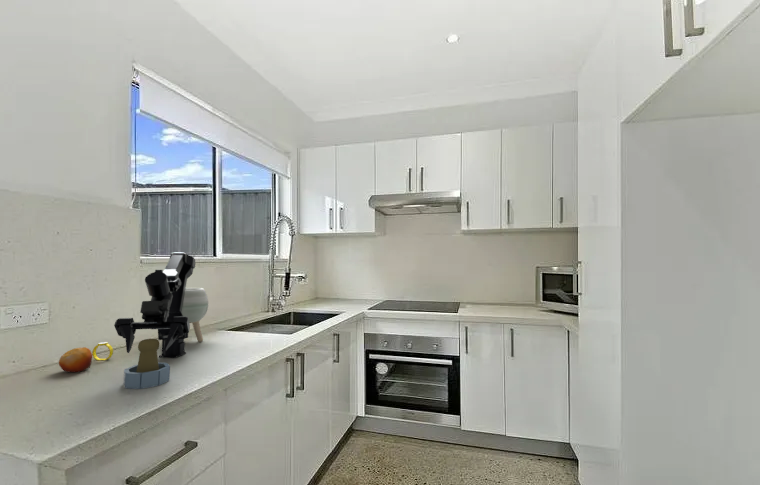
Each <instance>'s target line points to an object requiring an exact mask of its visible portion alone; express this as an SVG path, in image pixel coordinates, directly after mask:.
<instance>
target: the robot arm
mask: <svg viewBox="0 0 760 485" xmlns="http://www.w3.org/2000/svg"><path fill="white" fill-rule="evenodd" d="M194 269H196V259H195V257H194V256H191V255H189V254H188V253H187V252H186V253H185V252H183V251H182V252H181V251H179V252H176V251H174V252H170V256H169V260H168V262H167V263H166V266H165V267H164V269H155V270H154V272H151V273H149V274H148V275H146V276H144V277H145V279H144V282H145V285H146V286H145V287H146V288H147V291H148V295H149V296H150V297H151V298H150V300H143V301H142V302H141V305H140V306H141V307H140V310H139V311H140V312H139V313H141V314H142V315H141V319H142V320H143V321H135V319H134V317H119V318H117V319H115V323H114V324H113V326H114V328H115V331H116V334H117V336H119V337H122V339H125V347H126V350H125V351H126V353H127V354H130V352H131V350H132V348H133V344H134V340H135V338H136V337H135V336H136V335H135V334H136V331H137V330H157V336H158V339H157V340H158V341H161V354H160V355H158V358H170V359H172V358H173V359H175V358H178V357H180V356H183V355H186V354H187V352H186V351H185V347H186V346H185V344H186V343H185V339H188V338H189V333H190V328H191V323H189V319H188V317H187V316H183V315H182V307H183V301H184V295H185V289H186V288H187V284H188V283H187V281H188V279H189V278H190V277H191V276H192V274H193V272H194Z"/></svg>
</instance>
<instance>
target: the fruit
mask: <svg viewBox="0 0 760 485" xmlns="http://www.w3.org/2000/svg"><path fill="white" fill-rule="evenodd" d="M92 360H93V355H92V351H91V350H90V348H87V347H86V346H85V347H84V346H83V347H76V348H72V349H70V350H67V351H66V352H65V353H63V354H62V355H61V356H60V358H59V360H58V365H59V367H60V368H61V369H62V370H63V371H64V372H66V373H81V372H84V371H86V370H88V369H91V364H92Z"/></svg>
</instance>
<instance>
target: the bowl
mask: <svg viewBox="0 0 760 485" xmlns="http://www.w3.org/2000/svg"><path fill="white" fill-rule="evenodd" d="M158 365H159V370H156V371H150V372H144V373H136V371H137V366H138V364H134V365H132V366H129V367H126V368H124V370H123V381H122V382H123V387H124V388H125V389H130V390H131V389H133V390H141V389H149V388H152V387H153V388H154V387H157V386H161V385H163V384H164V383H166V382H167V383H168V382H169V381H170V373H171V372H170V370H171V366H170V365H169V363H167V362H158Z"/></svg>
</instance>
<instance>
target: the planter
mask: <svg viewBox="0 0 760 485" xmlns="http://www.w3.org/2000/svg"><path fill="white" fill-rule="evenodd" d="M208 308H209V298H208V294H207V291H206V290H205V288H203V287H186V289H185V295H184V301H183V307H182V315H183V316H187V317H188V319H189V323H190V324H192V328H193V331H194V334H195V337H196V339H197V342H198V343H202V342H203V341H204V338H203V333H202V330H201V325H200V321H201V320H202V319H203V318H204V317H205V316H206V314H207V312H208V310H209V309H208Z"/></svg>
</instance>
